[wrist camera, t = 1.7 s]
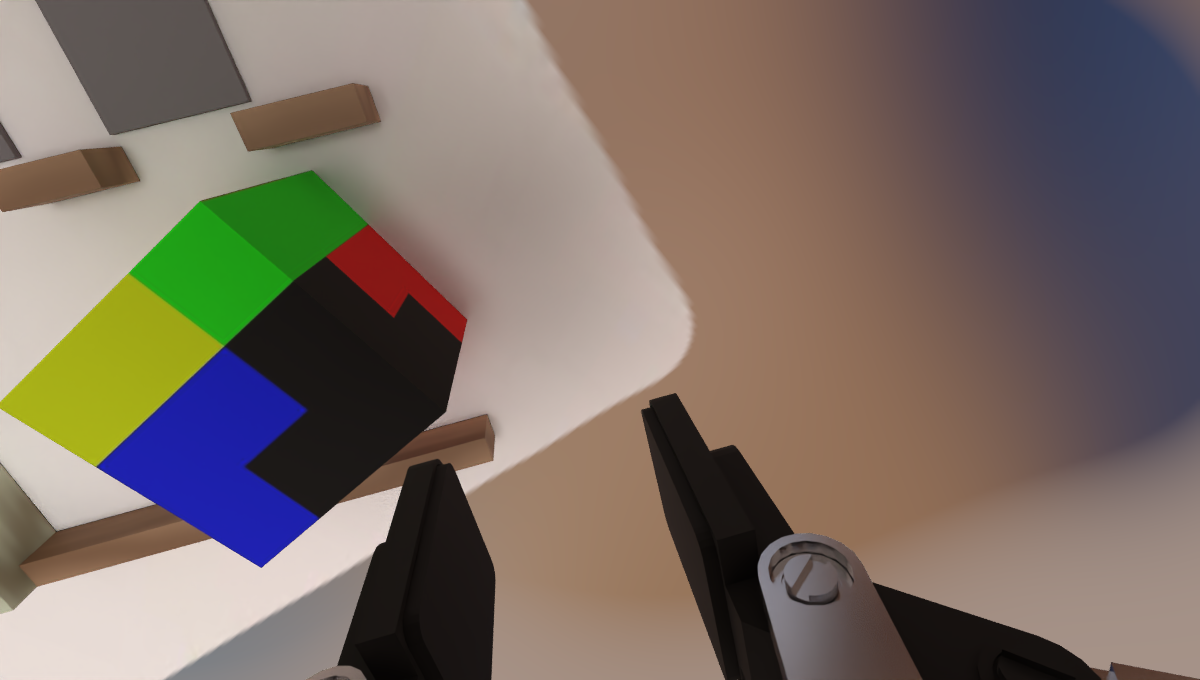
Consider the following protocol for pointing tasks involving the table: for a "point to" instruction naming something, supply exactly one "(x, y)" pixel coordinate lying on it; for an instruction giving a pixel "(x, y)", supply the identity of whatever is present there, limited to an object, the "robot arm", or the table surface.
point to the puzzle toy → (252, 365)
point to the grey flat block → (7, 147)
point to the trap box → (41, 555)
